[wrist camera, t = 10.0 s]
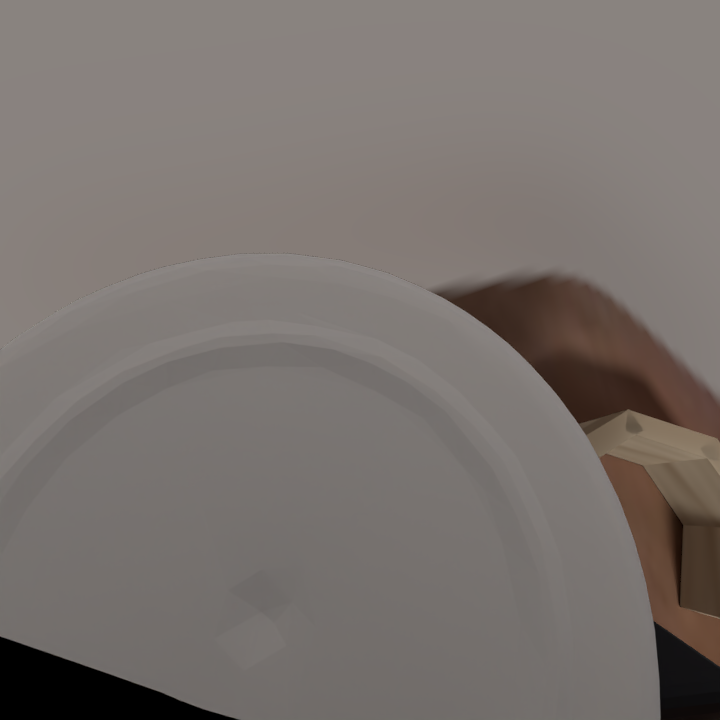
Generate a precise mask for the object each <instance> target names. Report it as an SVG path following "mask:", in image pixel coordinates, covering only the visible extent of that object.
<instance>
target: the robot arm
mask: <svg viewBox="0 0 720 720" xmlns="http://www.w3.org/2000/svg"><path fill="white" fill-rule="evenodd" d="M653 623H654V628H655V637H656V648H657V659H658V670H659V685H660V716H661V718H660V720H720V667H719V666H718V665H716V664H715V663H713V662H712V661H710V660H709V659H708V658H706V657H705V656H703V655H702V654H700V653H699V652H697V651H696V650H695V649H693V648H692V647H690V646H689V645H687V644H686V643H684V642H683V641H682V640H680V639H679V638H677V637H676V636H674V635H673V634H671V633H670V632H669V631H667V630H666V629H664V628H663V627H661V626H660V625H659V624H657V623H656V622H654V621H653Z"/></svg>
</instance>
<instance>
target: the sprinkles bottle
mask: <svg viewBox="0 0 720 720" xmlns="http://www.w3.org/2000/svg"><path fill="white" fill-rule="evenodd" d="M660 718H661V716H660V685H659V670H658V659H657V648H656V637H655V628H654V623H653V618H652V612H651V607H650V602H649V597H648V592H647V587H646V581H645V578H644V574H643V570H642V567H641V563H640V559H639V556H638V552H637V548H636V545H635V541H634V538H633V536H632V533H631V530H630V528H629V525H628V522H627V520H626V517H625V514H624V512H623V509H622V506H621V503H620V501H619V498H618V496H617V494H616V492H615V490H614V488H613V486H612V484H611V482H610V480H609V478H608V476H607V474H606V472H605V470H604V468H603V466H602V464H601V461H600V459H599V458H598V456H597V454H596V452H595V450H594V448H593V447H592V445H591V443H590V441H589V439H588V438H587V436H586V434H585V433H584V432H583V430H582V429H581V427H580V426H579V424H578V423H577V421H576V420H575V418H574V417H573V416H572V414H571V413H570V412H569V410H568V409H567V408H566V406H565V405H564V403H563V402H562V401H561V399H560V398H559V397H558V395H557V394H556V393H555V392H554V391H553V389H552V388H551V387H550V386H549V385H548V384H547V383H546V381H545V380H544V379H543V378H542V377H541V376H540V375H539V374H538V373H537V372H536V370H535V369H534V368H533V367H532V366H531V365H530V364H529V363H528V362H527V361H526V360H525V359H524V358H523V357H522V356H521V355H520V354H519V353H518V352H517V351H516V350H515V349H514V348H513V347H511V346H510V345H509V344H508V343H507V342H506V341H505V340H503V339H502V338H501V337H500V336H498V335H497V334H496V333H495V332H493V331H492V330H491V329H490V328H488V327H487V326H486V325H484V324H483V323H481V322H480V321H478V320H477V319H476V318H474V317H473V316H471V315H470V314H469V313H467V312H466V311H464V310H462V309H461V308H459V307H457V306H456V305H454V304H452V303H451V302H449V301H447V300H446V299H444V298H442V297H440V296H438V295H436V294H434V293H432V292H430V291H428V290H426V289H424V288H422V287H420V286H418V285H416V284H414V283H411V282H409V281H406V280H404V279H402V278H399V277H397V276H394V275H392V274H390V273H386V272H383V271H380V270H376V269H373V268H369V267H365V266H362V265H358V264H354V263H350V262H347V261H343V260H337V259H330V258H322V257H314V256H306V255H299V254H291V253H269V254H268V253H263V254H262V253H260V254H234V255H227V256H220V257H212V258H204V259H198V260H193V261H188V262H184V263H179V264H174V265H170V266H165V267H161V268H158V269H154V270H151V271H148V272H144V273H141V274H138V275H136V276H133V277H131V278H128V279H125V280H123V281H120V282H117V283H115V284H112V285H109V286H107V287H104V288H102V289H100V290H98V291H95V292H93V293H91V294H89V295H86V296H84V297H82V298H80V299H77V300H76V301H74V302H72V303H70V304H69V305H67V306H65V307H63V308H62V309H60V310H58V311H56V312H55V313H53V314H52V315H50V316H48V317H47V318H45V319H44V320H42V321H41V322H39V323H37V324H36V325H34V326H33V327H31V328H29V329H28V330H26V331H25V332H23V333H21V334H20V335H18V336H17V337H15V338H14V339H12V340H11V341H10V342H9V343H7V344H6V345H5V346H4V347H3V348H1V349H0V720H660Z"/></svg>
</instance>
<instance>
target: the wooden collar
mask: <svg viewBox="0 0 720 720" xmlns="http://www.w3.org/2000/svg"><path fill="white" fill-rule="evenodd" d="M579 426H580V427H581V429H582V430H583V432H584V433H585V434H586V436H587V438H588V439H589V441H590V443H591V445H592V447H593V448H594V450H595V452H596V454H597V456H598V458H600V457H601V456H603V455H604V454H609V455H612V456H616V457H619V458H622V459H625V460H628V461H631V462H634V463H637V464H640V465H643V466H644V468H645V469H646V471H647V472H648V474H649V475H650V477H651V478H652V480H653V481H654V483H655V484H656V486H657V487H658V489H659V490H660V492H661V493H662V494H663V496H664V497H665V499H666V500H667V502H668V503H669V505H670V506H671V508H672V509H673V511H674V512H675V514H676V515H677V517H678V518H679V520H680V521H681V523H682V524H683V544H682V568H681V593H680V607H683V608H686V609H689V610H692V611H695V612H698V613H701V614H705V615H708V616H712V617H715V618H719V619H720V442H719V441H718V439H717V438H713V437H710V436H707V435H704V434H701V433H698V432H695V431H692V430H689V429H686V428H683V427H680V426H677V425H674V424H671V423H668V422H664V421H661V420H658V419H655V418H652V417H649V416H646V415H643V414H640V413H637V412H634V411H631V410H629V409H627V410H624V411H620V412H617V413H613V414H610V415H607V416H603V417H600V418H596V419H593V420H590V421H586V422H583V423H579Z"/></svg>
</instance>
